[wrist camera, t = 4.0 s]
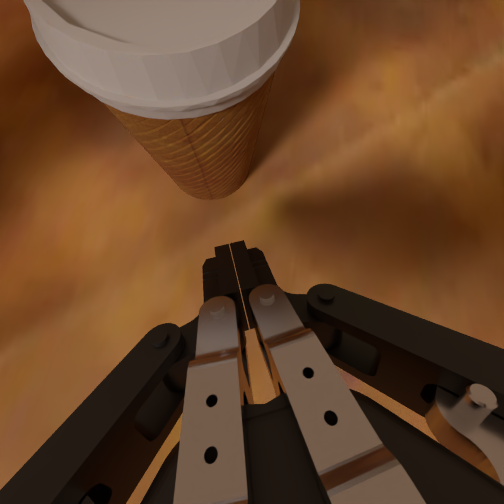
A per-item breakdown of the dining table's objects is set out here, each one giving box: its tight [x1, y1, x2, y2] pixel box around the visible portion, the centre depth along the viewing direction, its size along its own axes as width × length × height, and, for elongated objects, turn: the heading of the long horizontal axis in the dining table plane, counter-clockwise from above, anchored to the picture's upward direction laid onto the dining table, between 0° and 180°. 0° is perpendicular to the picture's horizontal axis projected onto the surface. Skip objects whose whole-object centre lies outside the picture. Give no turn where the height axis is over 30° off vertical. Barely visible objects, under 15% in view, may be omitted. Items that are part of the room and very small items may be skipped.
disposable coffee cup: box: [23, 0, 300, 200], centre depth 13 cm, size 10×10×12 cm
